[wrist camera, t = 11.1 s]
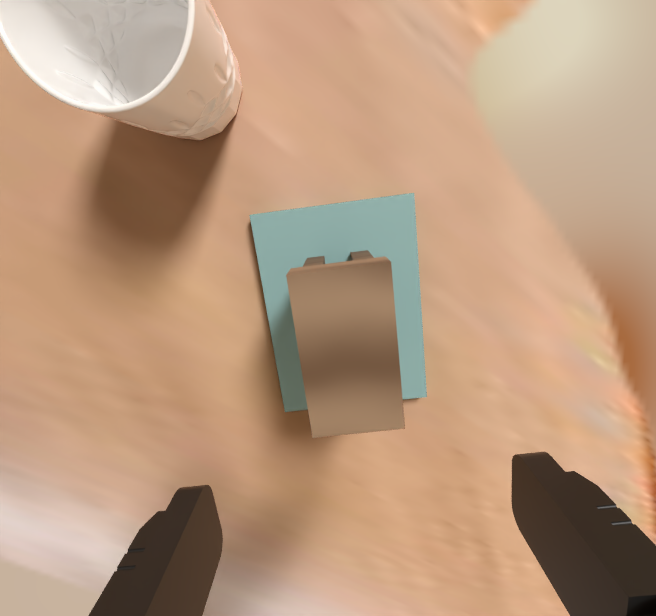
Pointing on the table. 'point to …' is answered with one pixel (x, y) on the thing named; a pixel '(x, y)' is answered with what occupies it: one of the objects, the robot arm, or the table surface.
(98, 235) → the table surface
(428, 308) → the table surface
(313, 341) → the tan slab with prongs
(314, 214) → the board
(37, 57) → the white cup
